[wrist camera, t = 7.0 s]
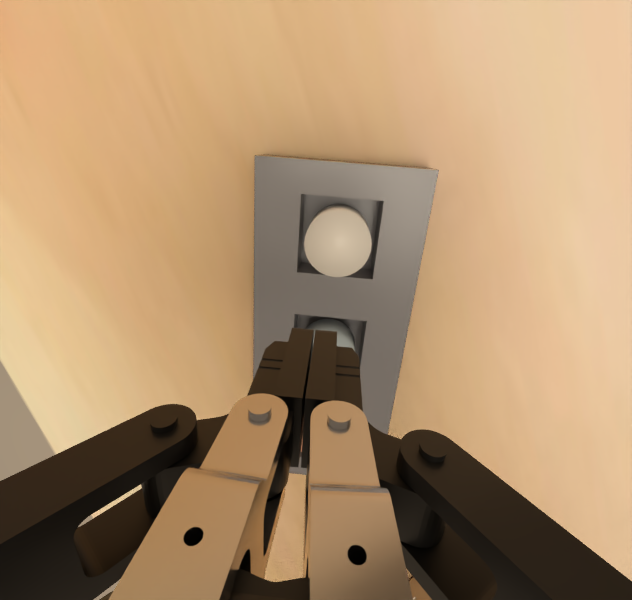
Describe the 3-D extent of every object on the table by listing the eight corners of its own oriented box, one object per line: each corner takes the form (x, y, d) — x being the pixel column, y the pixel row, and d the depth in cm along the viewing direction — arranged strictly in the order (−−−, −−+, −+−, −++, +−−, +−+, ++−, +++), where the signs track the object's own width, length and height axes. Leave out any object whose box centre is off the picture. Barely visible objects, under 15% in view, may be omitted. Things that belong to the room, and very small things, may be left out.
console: (428, 168, 26) (438, 170, 23) (375, 458, 37) (378, 483, 34) (264, 154, 26) (254, 155, 24) (259, 444, 37) (252, 468, 35)
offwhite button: (372, 207, 25) (375, 214, 23) (364, 266, 27) (366, 279, 24) (310, 201, 26) (306, 208, 23) (306, 261, 27) (302, 273, 24)
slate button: (357, 321, 29) (358, 339, 26) (351, 367, 31) (352, 389, 28) (303, 316, 29) (298, 333, 26) (300, 362, 31) (295, 383, 28)
